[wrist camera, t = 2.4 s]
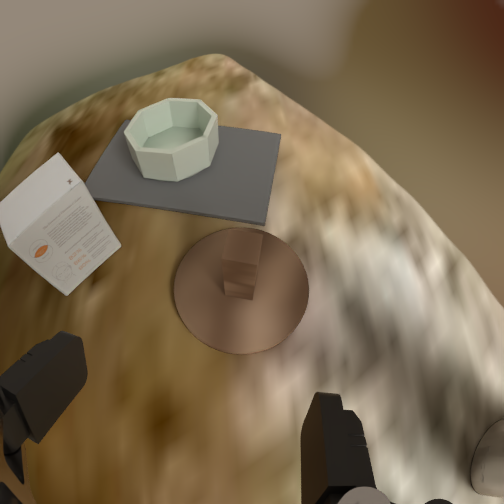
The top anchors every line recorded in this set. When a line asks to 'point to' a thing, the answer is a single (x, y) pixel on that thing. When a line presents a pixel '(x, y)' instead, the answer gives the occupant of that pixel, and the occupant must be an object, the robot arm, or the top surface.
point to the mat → (196, 178)
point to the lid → (241, 290)
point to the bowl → (173, 139)
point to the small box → (57, 225)
